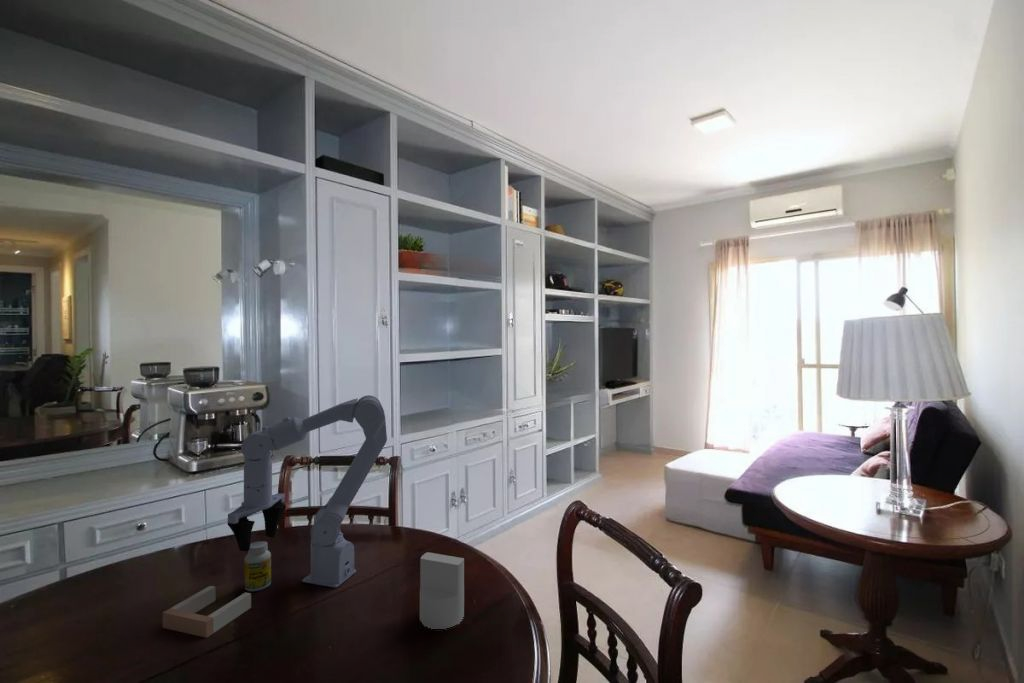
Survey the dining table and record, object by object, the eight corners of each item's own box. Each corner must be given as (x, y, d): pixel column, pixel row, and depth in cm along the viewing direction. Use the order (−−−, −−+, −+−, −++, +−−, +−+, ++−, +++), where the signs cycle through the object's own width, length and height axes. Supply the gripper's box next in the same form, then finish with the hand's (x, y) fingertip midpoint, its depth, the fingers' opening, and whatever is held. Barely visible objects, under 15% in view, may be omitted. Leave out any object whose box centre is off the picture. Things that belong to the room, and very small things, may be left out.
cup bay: (251, 607, 100) (251, 593, 100) (206, 637, 90) (206, 622, 90) (210, 599, 103) (210, 585, 103) (162, 627, 93) (162, 612, 93)
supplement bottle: (269, 577, 112) (269, 537, 112) (272, 587, 108) (272, 545, 108) (243, 584, 109) (243, 542, 109) (245, 594, 105) (245, 551, 105)
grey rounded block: (471, 609, 100) (471, 552, 100) (452, 634, 91) (452, 572, 91) (433, 601, 103) (433, 546, 103) (411, 624, 94) (411, 564, 94)
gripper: (268, 474, 117) (268, 528, 117) (216, 492, 103) (216, 554, 103) (291, 476, 115) (291, 532, 115) (242, 495, 101) (242, 559, 101)
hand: (257, 543), depth 109 cm, fingers open, 7 cm apart
